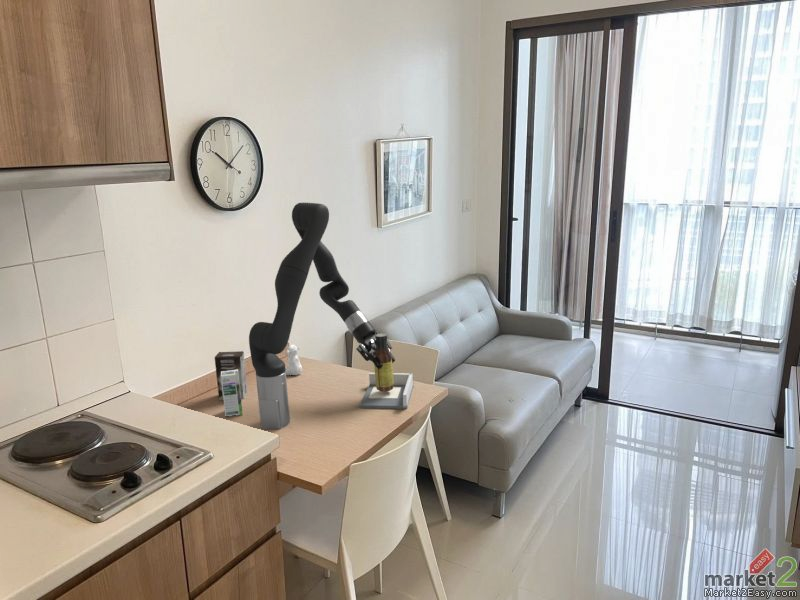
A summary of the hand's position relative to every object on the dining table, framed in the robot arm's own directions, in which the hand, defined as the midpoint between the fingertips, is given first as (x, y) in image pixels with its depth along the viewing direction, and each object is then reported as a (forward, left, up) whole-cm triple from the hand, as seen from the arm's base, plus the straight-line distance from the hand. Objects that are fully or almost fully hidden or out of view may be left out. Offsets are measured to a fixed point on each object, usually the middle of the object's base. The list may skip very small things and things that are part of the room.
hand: (387, 364), depth 206 cm
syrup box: (-16, +50, -12) cm, 54 cm away
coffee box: (-2, +56, -12) cm, 58 cm away
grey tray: (0, 0, -12) cm, 12 cm away
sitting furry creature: (+22, +41, -12) cm, 48 cm away
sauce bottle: (+1, +1, -10) cm, 10 cm away
